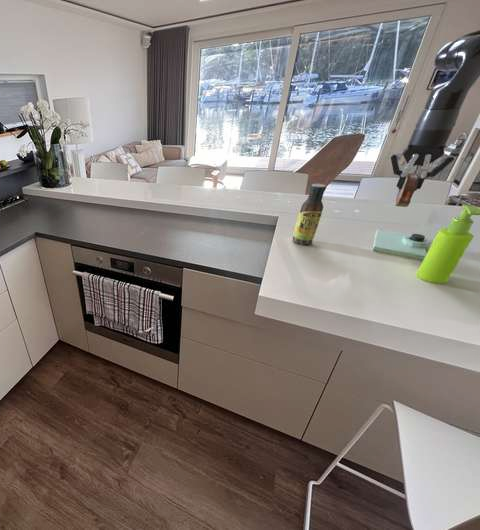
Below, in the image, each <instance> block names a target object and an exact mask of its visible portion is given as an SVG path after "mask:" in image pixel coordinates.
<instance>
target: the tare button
mask: <svg viewBox="0 0 480 530" xmlns="http://www.w3.org/2000/svg"><path fill="white" fill-rule="evenodd" d="M411 234H412V236H411V238H410V239H411V240H413V241H417V242H423V240H424V238H426V236H425V235H424V234H419V233H411Z"/></svg>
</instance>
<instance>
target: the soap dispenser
mask: <svg viewBox="0 0 480 530" xmlns="http://www.w3.org/2000/svg"><path fill="white" fill-rule="evenodd" d="M461 208H463V209H462V211H461V213H460V215H459V216H456V217H453V218H452V220H451V221H450V223H449V225H448V226H447V228H440V229H439V230H438V231H437V234H436V235H435V237H434V239H433V242H431V244H430V246H429V249H428V250H427V251H426V256H425V258H424V260H422V261H421V263H420V265H419V268H418V270H417V271H416V273H415V275H416V276H417V277H418V278H419V279H421V280H423V281H425V282H428V283H433V284H438V285H439V284H445V283H447V282H448V280H449V279H450V277H451V275H452V273H453V272H454V270H455V269H456V267H457V265H458V264H459V262H460V260H461V258H462V257H463V255H464V254H465V252H466V250H467V248H468V247H469V246H470V243H471V242H472V241H473V239H474V234H472V233H471V232H469V231H470V229H471V228H472V225H473V224H474V223H475V221H474V220H473V219H472V218H471V217H472V216H480V208H479V207H478V206H476V205H474V204H473V205H472V204H462V206H461Z"/></svg>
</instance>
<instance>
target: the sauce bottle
mask: <svg viewBox="0 0 480 530" xmlns="http://www.w3.org/2000/svg"><path fill="white" fill-rule="evenodd" d="M326 190H327V185H326V184H323V183H313V184H311V186H310V191H309V194H308V196H307V198H306V200H305V201H304V202H303V203H302V204H301V207H300V210H299V212H298V216H297V219H296V223H295V227H294V230H293V233H292V239H293V240H292V239H291V240H292V242H294V241H295V242H297V243H302V244H308V245H311V244H312V242H313V240H314V239H315V235H316V233H317V229H318V226H319V223H320V221H321V218H322V215H323V210H324V204H323V201H322V200H323V196H324V193H325V192H326ZM295 242H294V243H295ZM297 243H296V244H297ZM310 243H311V244H310ZM302 244H301V245H302Z"/></svg>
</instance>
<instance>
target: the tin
mask: <svg viewBox="0 0 480 530" xmlns="http://www.w3.org/2000/svg"><path fill="white" fill-rule="evenodd" d="M418 177H419V175H418V174H417V173H408V174H407V175H406V180H405V182H404V185H403V187H402V189H401V190H400V189H398V191H397V194H396V198H395V207H402V208H406V207H407V208H408V206H409V205H410V204H411V200H412V197H413V195H414V193H415V192H416V191H417V190H416V187H417V184H418ZM415 190H416V191H415Z"/></svg>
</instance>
